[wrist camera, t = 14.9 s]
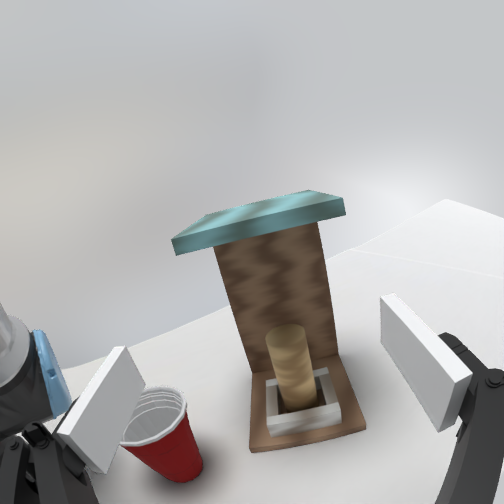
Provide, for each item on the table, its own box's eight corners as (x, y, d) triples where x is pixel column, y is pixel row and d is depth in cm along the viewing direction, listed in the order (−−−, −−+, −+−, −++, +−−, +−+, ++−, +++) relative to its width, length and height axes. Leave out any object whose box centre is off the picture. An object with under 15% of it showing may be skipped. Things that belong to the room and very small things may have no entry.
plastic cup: (198, 428, 36) (166, 370, 33) (236, 471, 27) (202, 414, 24) (138, 458, 30) (95, 402, 27) (164, 508, 21) (110, 458, 18)
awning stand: (251, 452, 30) (167, 241, 23) (254, 373, 47) (206, 214, 40) (365, 429, 28) (346, 198, 22) (337, 354, 46) (308, 189, 39)
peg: (287, 422, 32) (265, 350, 29) (285, 400, 37) (264, 329, 34) (321, 415, 32) (307, 340, 29) (316, 393, 36) (301, 320, 33)
